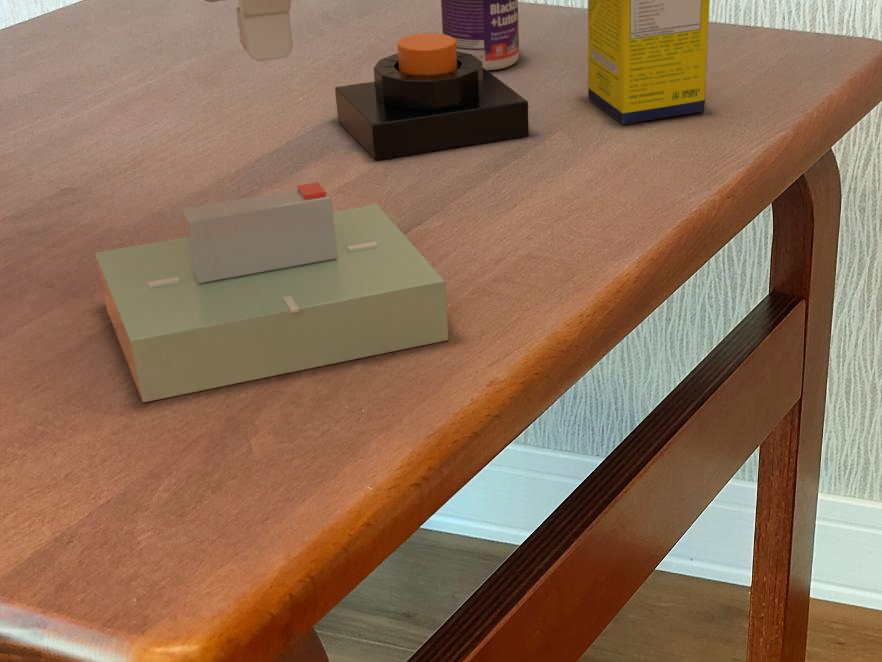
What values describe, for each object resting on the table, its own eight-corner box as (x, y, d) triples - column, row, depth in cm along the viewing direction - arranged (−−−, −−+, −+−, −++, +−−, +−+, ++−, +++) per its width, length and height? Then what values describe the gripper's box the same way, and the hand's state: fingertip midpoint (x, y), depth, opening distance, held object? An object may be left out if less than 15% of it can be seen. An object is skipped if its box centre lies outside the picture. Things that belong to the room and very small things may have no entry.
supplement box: (666, 87, 95) (672, -87, 88) (706, 114, 90) (715, -68, 84) (584, 99, 93) (585, -78, 87) (621, 126, 88) (624, -58, 82)
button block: (375, 160, 84) (369, 94, 82) (337, 121, 90) (331, 57, 88) (529, 136, 87) (527, 71, 85) (483, 99, 93) (480, 37, 91)
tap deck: (144, 406, 60) (130, 340, 58) (105, 307, 68) (92, 246, 66) (451, 343, 64) (447, 280, 63) (380, 257, 72) (375, 198, 71)
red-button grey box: (198, 284, 63) (186, 215, 61) (191, 270, 64) (179, 203, 62) (338, 259, 65) (331, 191, 63) (328, 246, 66) (321, 180, 64)
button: (409, 82, 85) (408, 52, 84) (391, 66, 87) (389, 37, 86) (465, 74, 86) (464, 44, 85) (445, 58, 88) (444, 30, 87)
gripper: (68, -371, 59) (126, -25, 67) (156, -340, 43) (217, 105, 51) (218, -375, 61) (256, -38, 69) (353, -346, 45) (382, 83, 53)
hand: (240, 24), depth 60 cm, fingers open, 8 cm apart
